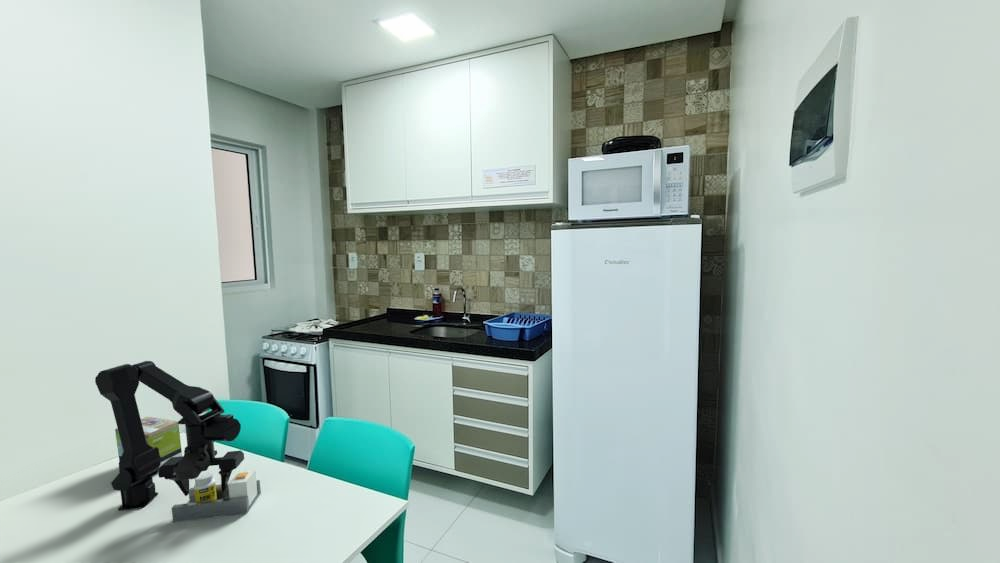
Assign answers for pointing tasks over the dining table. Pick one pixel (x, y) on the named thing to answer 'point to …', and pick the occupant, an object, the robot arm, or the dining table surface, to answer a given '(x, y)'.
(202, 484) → the supplement bottle
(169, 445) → the tea box
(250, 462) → the dining table surface
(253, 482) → the seated module
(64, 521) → the dining table surface
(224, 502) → the grey tray
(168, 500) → the dining table surface
